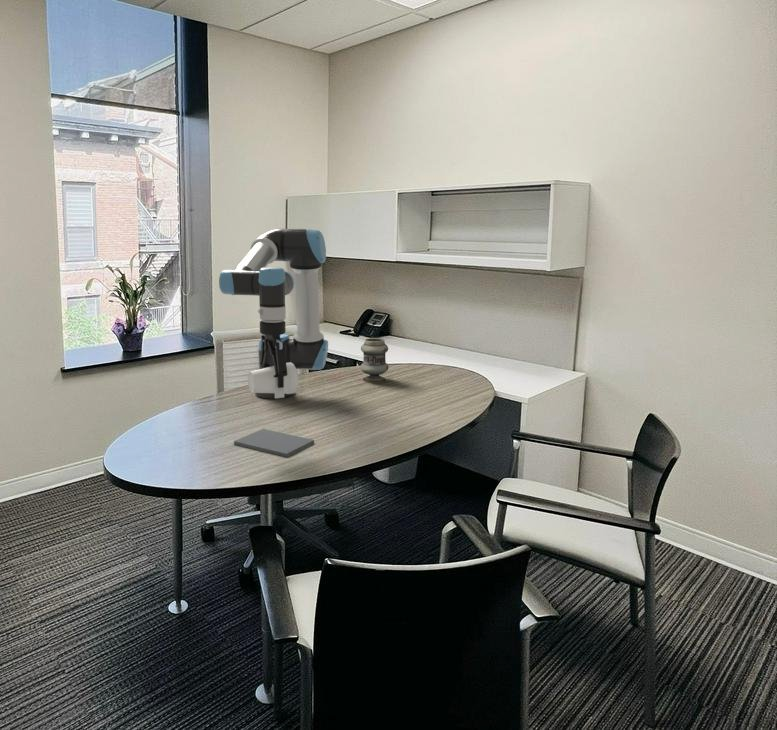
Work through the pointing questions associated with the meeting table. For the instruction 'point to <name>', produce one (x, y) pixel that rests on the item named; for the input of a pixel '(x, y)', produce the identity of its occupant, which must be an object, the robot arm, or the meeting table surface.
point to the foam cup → (272, 380)
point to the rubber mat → (274, 442)
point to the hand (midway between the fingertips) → (273, 393)
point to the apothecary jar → (374, 359)
